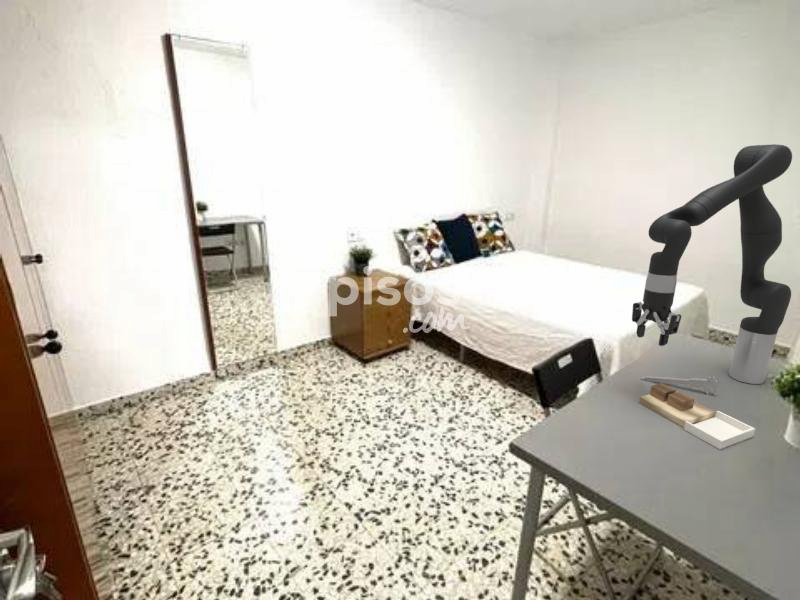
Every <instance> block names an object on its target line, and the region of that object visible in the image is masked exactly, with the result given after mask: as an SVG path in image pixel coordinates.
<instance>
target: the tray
mask: <svg viewBox="0 0 800 600" xmlns="http://www.w3.org/2000/svg"><path fill="white" fill-rule="evenodd" d="M683 430H685V431H686V432H688V433H689V434H692V435H693V436H695V437H697V438H699V440H702V441H703V442H706V443H707V444H710V445H711V446H712V447H715V448H716V449H719V450H721V449H725V448H726V447H730V446H732V445H736V444H737V443H740V442H743V441H745V440H748V439H750V438H751V439H752V438H753V437H754V436H755V435H754V434H755V431H756V428H755V427H753V426H750V425H749V424H748V423H747V424H746V423H744V422H742V421H741V420H739V419H736V418H735V417H733V416H730V415H728V414H726V413H724V412H722V411H719V410H716V411H715V415H714V418H711V419H708V420H705V421H702V422H699V423H696V424H691V423H690V422H688V421H686V422H685V426H684V428H683Z"/></svg>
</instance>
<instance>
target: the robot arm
mask: <svg viewBox="0 0 800 600" xmlns="http://www.w3.org/2000/svg"><path fill="white" fill-rule="evenodd" d="M792 160H793V153H792V149H790V148H789V147H788V146H787V145H783V144H755V145H748V146H744V147H742V149H740V150H739V151H738V152H737V154H736V155H735V158H734V161H733V177H731V178H729V179H728V180H725V181H722V182H719V183H718V184H715V185H713V186H710V187H708V188H707V189H704V190H702V191H701V192H699V193H698V194H697V195H696V196H693V198H691V199H690V200H689V201H687V202H686V203H685V204H684V205H682V206H680V207H676V208H675V209H673V210H670V211H669V212H667V213H664V214H662V215H661V216H659V217H657V218H656V219H655V220H654V221H653V222H652V223H651V225H650V226H649V229H648V237H649V239H650V240H652V241H653V242H655V243H659V244H664V247H663V249H662V251H656V252H654V253H652V254H651V257H650V261H649V266H648V272H647V276H646V280H645V284H644V291H643V297H642V302H641V301H639V302H634V303H633V304H632V313H631V314H632V315H631V321H632V322H633V323H635V324H636V325H637V327H636V337H638V338H643V337H645V332H646V327H647V325H646V324H647V323H648V322H649V321H652V322H653V323H656V325H657V327H658V328H659V330H660V334H659V340H658V346H660V347H664V346H666V345H667V344H668V342H669V338H670V335H674V334H677V333H678V330H679V327H680V323H681V319H682V315H681V314H680V313H678V314H675V313H673V312H672V309H671V308H672V306H673V303H674V298H675V292H676V288H677V281H678V280H677V279H678V277H677V276H678V270H679V267H680V266H679V264H680V260H681V258H682V256H683V255H684V253H685V250H686V249H687V247H688V245H689V243H690V241H691V238H692V233H693V232H692V227H697V226H700V225H703V224H704V223H705V222H707V221H708V220H709V219H711V218H712V217H714V216H715V215H716V214H717V213H719V212H720V211H722V210H723V209H724V208H726V207H727V206H728V205H731V204H732V203H734V202H736V201H737V200H738V207H739V217H740V219H739V220H740V243H741V256H742V257H741V262H742V263H741V265H742V266H741V279H740V280H741V281H740V299H741V302H742V303H743V304H744V305H745V306H749V307H751V308H754V309H758V310H761V311H760V314H759V315H758V316H747V317H743V318H742V319H741V321H740V324H739V328H738V329H739V330H738V334H737V337H736V342H735V347H734V349H733V355H732V357H731V363H730V366H729V371H728V375H729V377H731V378H732V379H734V380H736V381H739V382H743V383H746V384H752V385H761V384H764V383H765V380H766V376H767V373H768V369H769V367H770V366H769V365H770V362H771V359H772V356H773V355H772V354H773V350H774V346H775V343H776V339H777V335H778V332H779V329H780V327H781V326H782V324H783V323H784V319H785V316H786V313H787V311H788V308H789V305H790V303H791V302H790V301H791V298H792V290H791V288H790V286H789V285H787V284H784V283H781V282H776V281H772V280H768V279H766V278H765V266H766V264H767V262H768V260H769V259H770V258H771V257H772V256H773V255H774V254H775V253H776V251H777V250H778V249H779V247H780V245H781V244H782V241H783V223H782V222H783V221H782V218H781V216H780V214H779V212H778V210H777V208H775V206H774V205H773V203H771V201H770V200H769V198H768V196H767V195H766V193H765V189H764V186H765V185H767V184H768V183H770V182H773V181H774V180H776V179H778V178H779V177H781V176H782V175H784V173H785V172H786V171H787V170H788V169H789V167H791V163H792ZM642 311H643V313H642Z"/></svg>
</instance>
